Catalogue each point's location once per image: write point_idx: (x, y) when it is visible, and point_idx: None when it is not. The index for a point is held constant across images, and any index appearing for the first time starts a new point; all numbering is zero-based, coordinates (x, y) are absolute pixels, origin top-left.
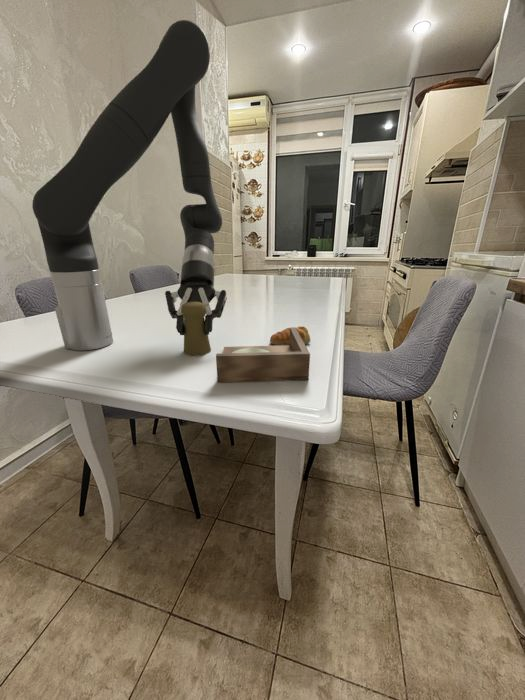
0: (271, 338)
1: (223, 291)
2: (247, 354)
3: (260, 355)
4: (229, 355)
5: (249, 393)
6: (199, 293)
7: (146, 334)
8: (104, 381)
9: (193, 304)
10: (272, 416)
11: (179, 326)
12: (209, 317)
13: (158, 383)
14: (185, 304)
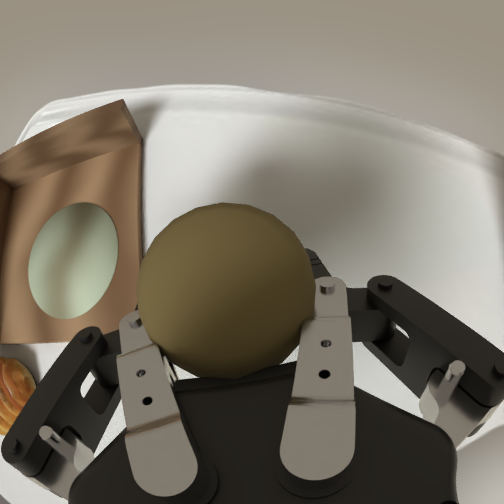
0: (25, 383)
1: (9, 446)
2: (64, 124)
3: (45, 130)
4: (96, 109)
5: None
6: (179, 421)
7: None
8: (371, 122)
9: (197, 226)
10: (82, 96)
11: None
12: None
13: (262, 119)
14: (266, 228)
